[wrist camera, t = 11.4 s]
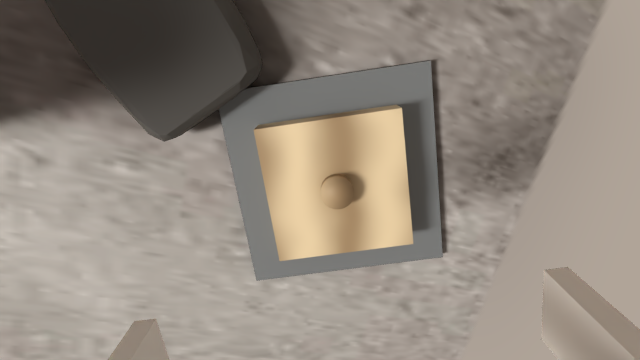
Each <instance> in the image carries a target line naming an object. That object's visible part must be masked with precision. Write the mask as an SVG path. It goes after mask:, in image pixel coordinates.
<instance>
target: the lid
mask: <svg viewBox="0 0 640 360" xmlns="http://www.w3.org/2000/svg"><path fill="white" fill-rule="evenodd" d="M254 135H255V140H256V145H257V150H258V155H259V160H260V165H261V170H262V175H263V180H264V185H265V190H266V195H267V200H268V205H269V210H270V215H271V220H272V225H273V230H274V235H275V240H276V245H277V250H278V255H279V261H285V260H293V259H300V258H308V257H316V256H324V255H331V254H339V253H347V252H355V251H362V250H370V249H378V248H386V247H393V246H401V245H409V244H413V233H412V221H411V209H410V197H409V186H408V174H407V162H406V150H405V138H404V126H403V114H402V108H401V107H399V106H398V105H390V106H383V107H376V108H370V109H363V110H356V111H349V112H342V113H336V114H329V115H322V116H315V117H308V118H302V119H295V120H288V121H281V122H274V123H268V124H261V125H258V126H257V127H256V128H255V129H254Z"/></svg>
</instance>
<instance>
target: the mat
mask: <svg viewBox="0 0 640 360" xmlns="http://www.w3.org/2000/svg"><path fill="white" fill-rule="evenodd" d="M390 105H398V106H399V107H401V108H402V114H403V126H404V138H405V150H406V162H407V174H408V186H409V197H410V209H411V221H412V233H413V244H409V245H401V246H393V247H386V248H378V249H370V250H362V251H355V252H347V253H339V254H331V255H324V256H316V257H308V258H300V259H293V260H285V261H279V255H278V250H277V245H276V240H275V235H274V230H273V225H272V220H271V215H270V210H269V205H268V200H267V195H266V190H265V185H264V180H263V175H262V170H261V165H260V160H259V155H258V150H257V145H256V140H255V135H254V129H255V128H256V127H257V126H258V125H261V124H268V123H274V122H281V121H288V120H295V119H302V118H308V117H315V116H322V115H329V114H336V113H342V112H349V111H356V110H363V109H370V108H376V107H383V106H390ZM219 113H220V118H221V122H222V127H223V131H224V136H225V140H226V145H227V149H228V154H229V158H230V163H231V167H232V172H233V176H234V181H235V185H236V190H237V194H238V199H239V203H240V208H241V212H242V217H243V221H244V226H245V230H246V235H247V239H248V244H249V248H250V253H251V258H252V262H253V267H254V271H255V276H256V280H257V281H258V280H266V279H274V278H281V277H289V276H297V275H305V274H313V273H321V272H329V271H337V270H344V269H352V268H360V267H368V266H376V265H384V264H392V263H400V262H407V261H415V260H423V259H431V258H439V257H443V253H442V236H441V220H440V203H439V187H438V170H437V154H436V137H435V121H434V105H433V88H432V72H431V61H423V62H417V63H410V64H404V65H397V66H390V67H384V68H377V69H371V70H364V71H357V72H351V73H344V74H338V75H331V76H325V77H318V78H311V79H305V80H298V81H292V82H285V83H278V84H272V85H265V86H259V87H252V88H246V89H244V90H243V91H242V92H241V93H239V94H238V95H237V96H236V97H235V98H234V99H232V100H231V101H229V102H228V103H226V104H225V105H224V106H222V107H221V108H219Z"/></svg>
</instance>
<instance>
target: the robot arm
mask: <svg viewBox="0 0 640 360" xmlns="http://www.w3.org/2000/svg"><path fill="white" fill-rule="evenodd" d="M541 339H542V340H543V341H544V342H545V344H546V345H547V346H548V348H549V349H550V350H551V352H553V354H554V355H555V357H556V358H557V359H558V360H640V329H639V328H638V327H636V326H635V325H634V324H633V323H632V322H631V321H629V320H628V319H627V318H626V317H625V316H624V315H623V314H621V313H620V312H619V311H618V310H617V309H616V308H614V307H613V306H612V305H611V304H610V303H609V302H607V301H606V300H605V299H604V298H603V297H602V296H601V295H599V294H598V293H597V292H596V291H595V290H594V289H592V288H591V287H590V286H589V285H588V284H587V283H586V282H584V281H583V280H582V279H581V278H580V277H579V276H577V275H576V274H575V273H574V272H573V271H572V270H571V269H569V268H568V267H564V268H556V269H548V270H544V280H543V307H542V335H541ZM108 360H169V357H168V354H167V351H166V348H165V345H164V342H163V339H162V336H161V333H160V330H159V327H158V324H157V321H156V319H150V320H142V321H134V323H133V324H132V326H131V327H130V328H129V330H128V331H127V333H126V334H125V336H124V337H123V339H122V340H121V341H120V343H119V344H118V346H117V347H116V349H115V350H114V352H113V353H112V354H111V356H110V357H109V359H108Z"/></svg>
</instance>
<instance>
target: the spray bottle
mask: <svg viewBox="0 0 640 360" xmlns="http://www.w3.org/2000/svg"><path fill="white" fill-rule="evenodd" d="M45 1H46V3H47V5H48V6H49V8H50V10H51V12H52V13H53V15H54V17H55V18H56V20H57V22H58V23H59V25H60V26H61V28H62V29H63V31H64V32H65V33H66V35H67V36H68V38H69V39H70V41H71V42H72V43H73V45H74V46H75V48H76V49H77V51H78V52H79V54H80V55H81V57H82V58H83V60H84V61H85V62H86V64H87V65H88V66H89V68H90V69H91V70H92V71H93V72H94V74H95V75H96V76H97V77H98V78H99V79H100V80H101V82H102V83H103V84H104V85H105V86H106V87H107V89H108V90H109V91H110V92H111V93H112V94H113V96H114V97H115V98H116V99H117V100H118V101H119V103H120V104H121V105H122V106H123V107H124V108H125V109H126V110H127V111H128V112H129V113H130V114H131V115H132V116H133V118H134V119H135V120H136V121H137V122H138V123H139V124H140V125H141V126H142V127H143V128H144V129H145V130H146V131H147V132H148V134H149V135H152V136H154V137H156V138H158V139H160V140H162V141H167V140H170V139H173V138H176V137H178V136H180V135H182V134H184V133H185V132H186V131H188V130H189V129H191V128H192V127H194V126H195V125H196V124H198V123H199V122H201V121H202V120H204V119H205V118H206V117H208V116H209V115H211V114H212V113H214V112H215V111H216V110H218V109H219V108H221V107H222V106H224V105H225V104H226V103H228V102H229V101H231V100H232V99H234V98H235V97H236V96H237V95H238V94H239V93H241V92H242V91H243V90H244V89H245V88H246V87H248V86H249V85H250V84H251V83H252V82H254V81H255V80H256V79H257V78H258V75H259V73H260V70H261V67H262V60H261V56H260V52H259V50H258V48H257V46H256V44H255V42H254V40H253V37H252V35H251V33H250V31H249V29H248V27H247V25H246V23H245V21H244V19H243V17H242V16H241V14H240V12H239V11H238V9H237V7H236V6H235V4H234V3H233V1H232V0H45Z"/></svg>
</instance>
